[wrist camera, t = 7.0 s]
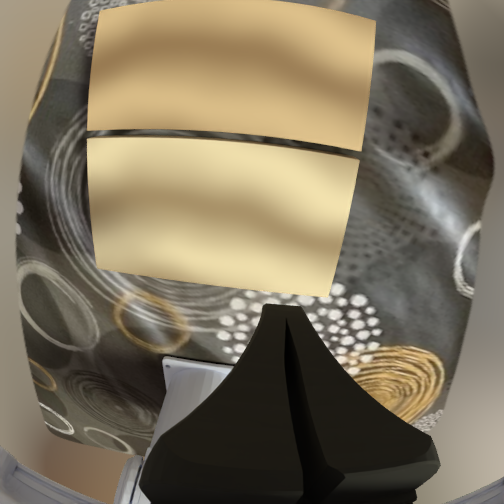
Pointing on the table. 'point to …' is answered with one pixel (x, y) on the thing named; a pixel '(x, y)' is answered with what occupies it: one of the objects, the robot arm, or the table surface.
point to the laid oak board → (233, 69)
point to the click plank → (219, 211)
